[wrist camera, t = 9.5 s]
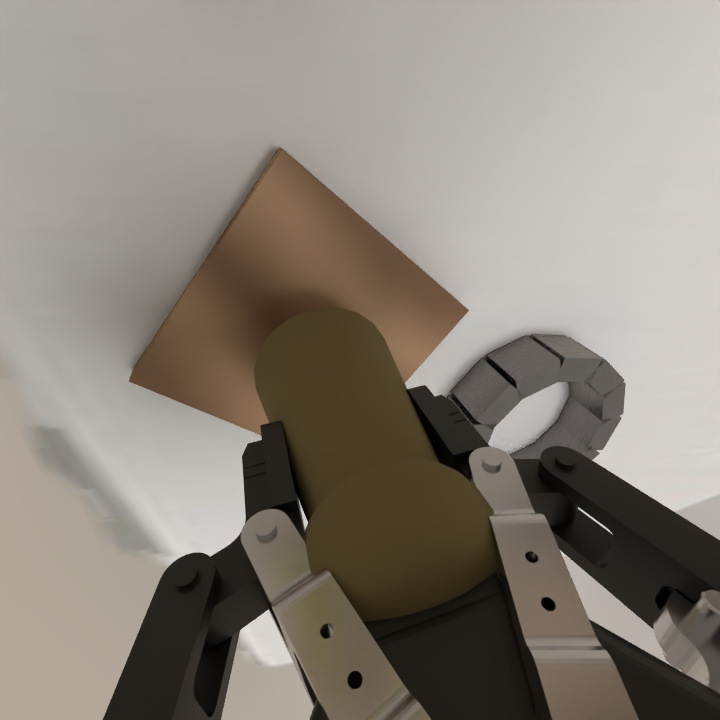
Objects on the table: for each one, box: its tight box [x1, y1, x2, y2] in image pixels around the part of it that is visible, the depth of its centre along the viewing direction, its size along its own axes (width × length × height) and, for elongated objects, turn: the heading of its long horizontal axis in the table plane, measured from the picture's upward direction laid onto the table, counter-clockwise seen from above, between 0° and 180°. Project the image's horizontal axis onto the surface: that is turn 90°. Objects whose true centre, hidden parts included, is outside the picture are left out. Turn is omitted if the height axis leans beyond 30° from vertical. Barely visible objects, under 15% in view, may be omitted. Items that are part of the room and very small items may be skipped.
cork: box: [254, 307, 502, 622], centre depth 13 cm, size 6×6×11 cm
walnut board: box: [129, 148, 469, 435], centre depth 20 cm, size 12×12×1 cm
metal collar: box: [448, 334, 625, 460], centre depth 27 cm, size 12×12×3 cm
